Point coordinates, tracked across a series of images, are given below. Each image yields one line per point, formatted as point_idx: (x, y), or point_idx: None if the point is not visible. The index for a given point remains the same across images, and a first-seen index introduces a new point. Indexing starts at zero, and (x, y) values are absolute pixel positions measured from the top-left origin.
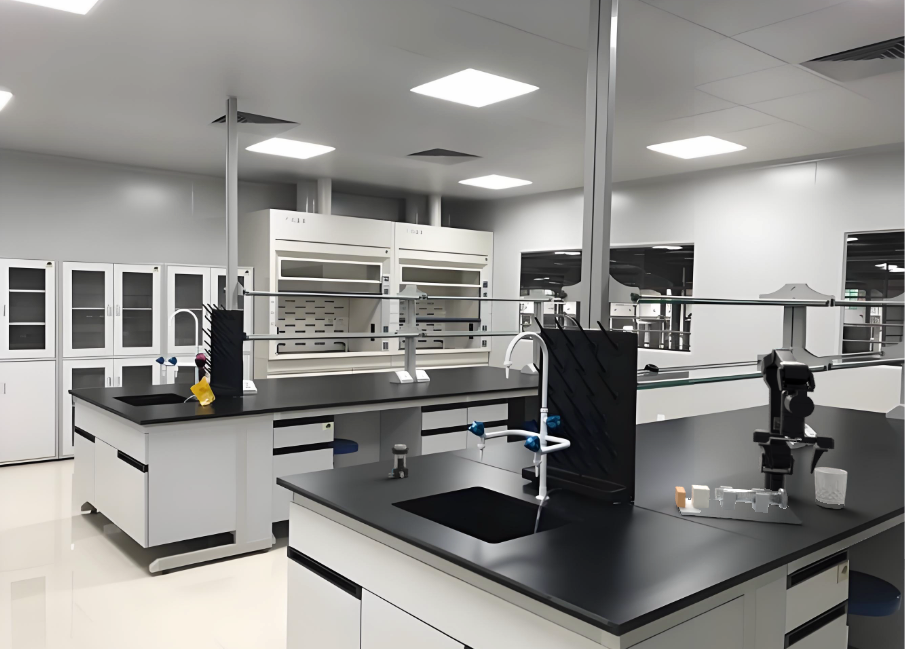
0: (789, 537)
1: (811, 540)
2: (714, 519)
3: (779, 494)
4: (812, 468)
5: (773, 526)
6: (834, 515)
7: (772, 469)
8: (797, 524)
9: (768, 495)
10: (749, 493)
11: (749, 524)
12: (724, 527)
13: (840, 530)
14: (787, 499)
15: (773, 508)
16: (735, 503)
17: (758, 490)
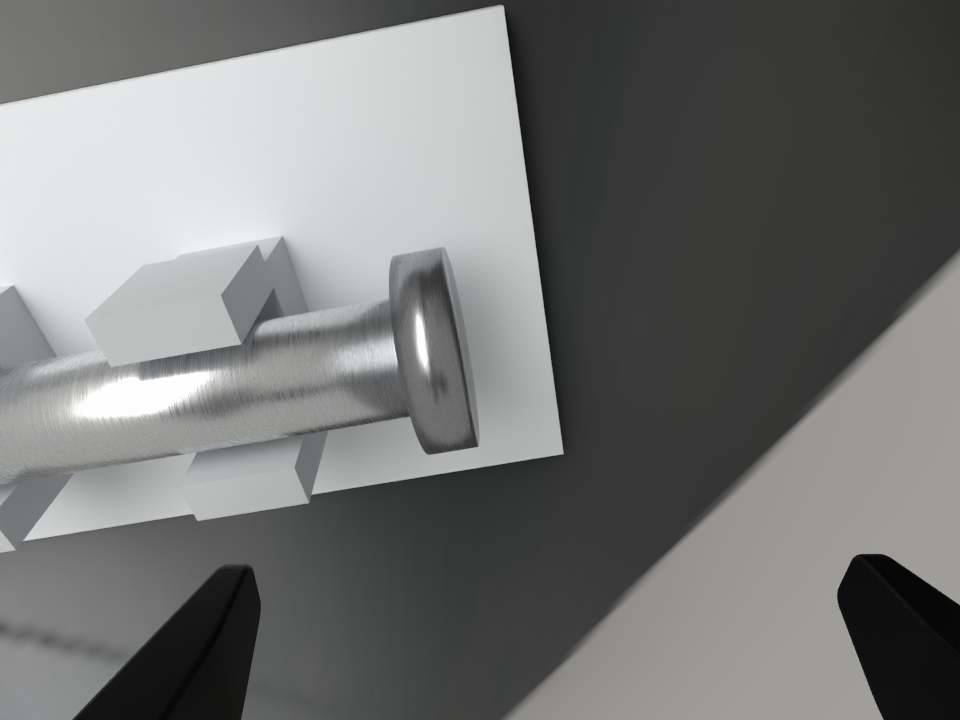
0: (463, 641)
1: (562, 638)
2: (35, 545)
3: (404, 413)
4: (900, 716)
5: (384, 524)
6: (924, 16)
7: (255, 611)
8: None
9: (305, 500)
10: (122, 463)
11: (248, 546)
12: (140, 637)
13: (781, 434)
14: (478, 435)
15: (364, 29)
16: (69, 479)
17: (176, 352)
